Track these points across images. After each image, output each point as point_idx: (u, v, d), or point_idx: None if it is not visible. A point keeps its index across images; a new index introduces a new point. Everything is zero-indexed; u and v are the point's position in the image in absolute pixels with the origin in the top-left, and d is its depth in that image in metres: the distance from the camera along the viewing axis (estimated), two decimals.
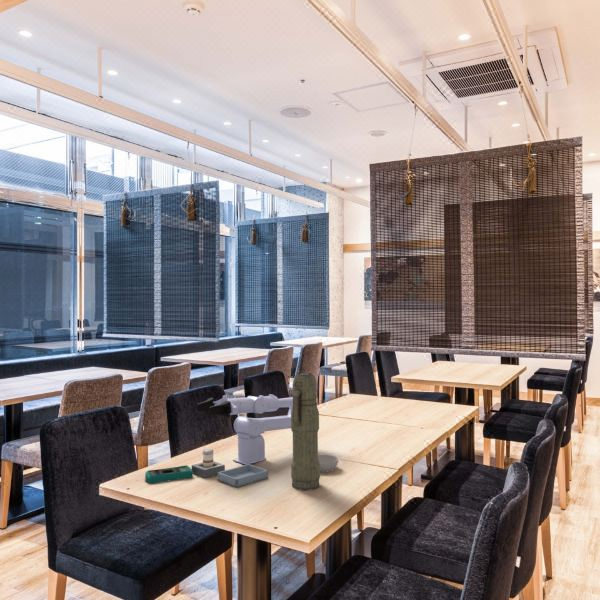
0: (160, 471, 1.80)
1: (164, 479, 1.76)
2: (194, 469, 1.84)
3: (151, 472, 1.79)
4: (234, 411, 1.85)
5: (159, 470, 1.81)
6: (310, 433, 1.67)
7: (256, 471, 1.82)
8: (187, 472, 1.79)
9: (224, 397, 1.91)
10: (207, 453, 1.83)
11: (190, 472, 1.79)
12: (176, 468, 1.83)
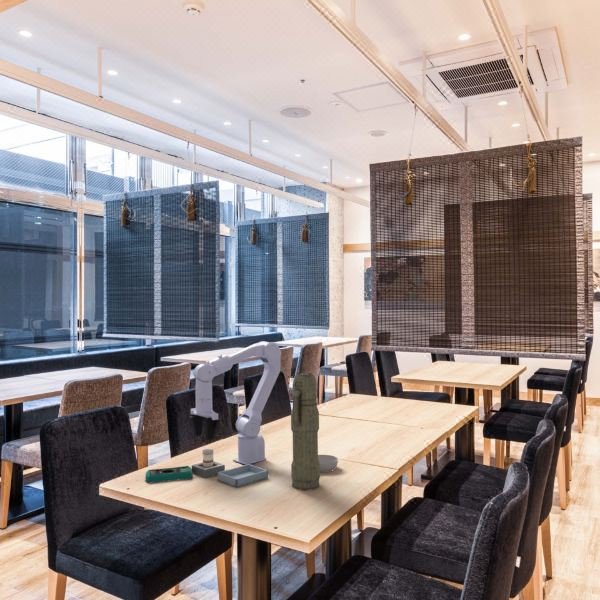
0: (160, 471, 1.80)
1: (163, 479, 1.76)
2: (194, 469, 1.84)
3: (151, 471, 1.80)
4: (216, 417, 1.86)
5: (160, 470, 1.81)
6: (310, 433, 1.67)
7: (256, 471, 1.82)
8: (186, 473, 1.78)
9: (195, 414, 1.88)
10: (207, 453, 1.83)
11: (189, 473, 1.79)
12: (177, 468, 1.83)
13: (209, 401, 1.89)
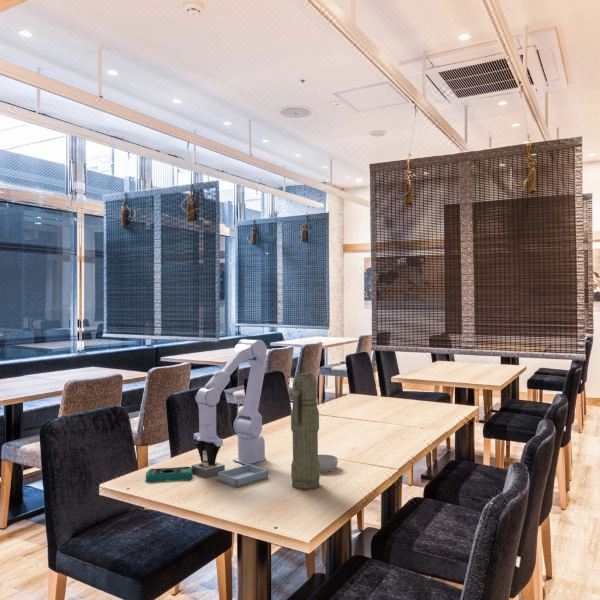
0: (161, 470, 1.81)
1: (162, 479, 1.76)
2: (194, 469, 1.84)
3: (152, 471, 1.80)
4: (221, 444, 1.80)
5: (161, 469, 1.82)
6: (310, 433, 1.67)
7: (256, 471, 1.82)
8: (185, 473, 1.78)
9: None
10: None
11: (188, 474, 1.78)
12: (178, 468, 1.82)
13: (213, 426, 1.83)
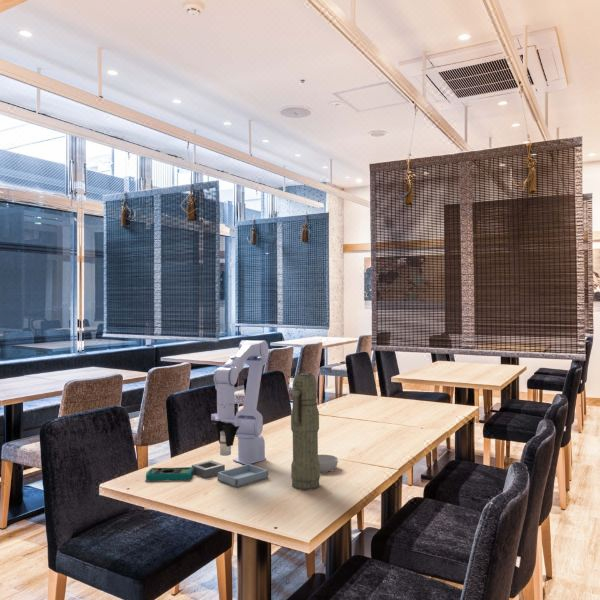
0: (162, 470, 1.81)
1: (161, 478, 1.77)
2: (194, 469, 1.84)
3: (153, 470, 1.81)
4: (239, 424, 1.76)
5: (162, 469, 1.82)
6: (310, 433, 1.67)
7: (256, 471, 1.82)
8: (184, 474, 1.77)
9: (217, 420, 1.78)
10: (224, 434, 1.79)
11: (187, 475, 1.77)
12: (179, 469, 1.82)
13: (231, 406, 1.79)
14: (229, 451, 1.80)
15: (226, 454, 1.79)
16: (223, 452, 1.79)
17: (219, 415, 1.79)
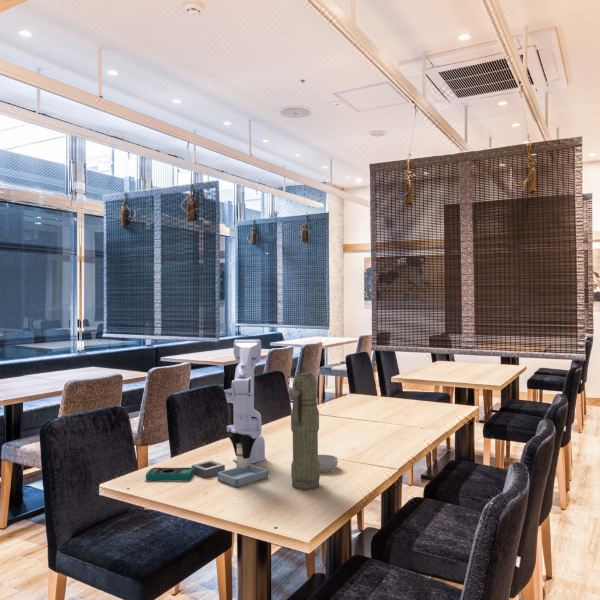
0: (162, 470, 1.81)
1: (160, 478, 1.77)
2: (194, 469, 1.84)
3: (154, 470, 1.82)
4: (257, 436, 1.73)
5: (163, 469, 1.82)
6: (310, 433, 1.67)
7: (256, 471, 1.82)
8: (183, 474, 1.77)
9: None
10: (241, 446, 1.75)
11: (186, 475, 1.76)
12: (179, 469, 1.82)
13: (248, 418, 1.76)
14: (246, 464, 1.76)
15: (243, 467, 1.76)
16: (240, 465, 1.76)
17: (236, 427, 1.75)
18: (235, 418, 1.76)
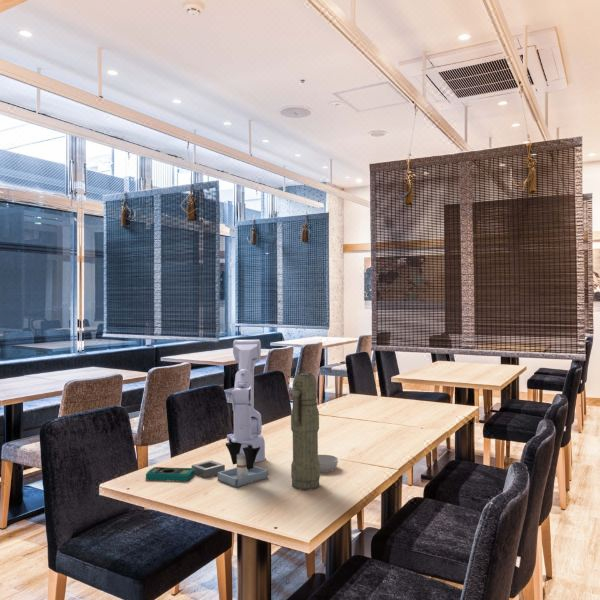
0: (163, 469, 1.82)
1: (160, 478, 1.77)
2: (194, 469, 1.84)
3: (155, 469, 1.82)
4: (257, 445, 1.73)
5: (164, 468, 1.83)
6: (310, 433, 1.67)
7: (256, 471, 1.82)
8: (182, 475, 1.76)
9: None
10: (241, 457, 1.75)
11: (184, 475, 1.76)
12: (180, 469, 1.82)
13: (248, 427, 1.76)
14: (246, 475, 1.76)
15: None
16: (240, 476, 1.75)
17: (236, 436, 1.75)
18: (235, 427, 1.76)
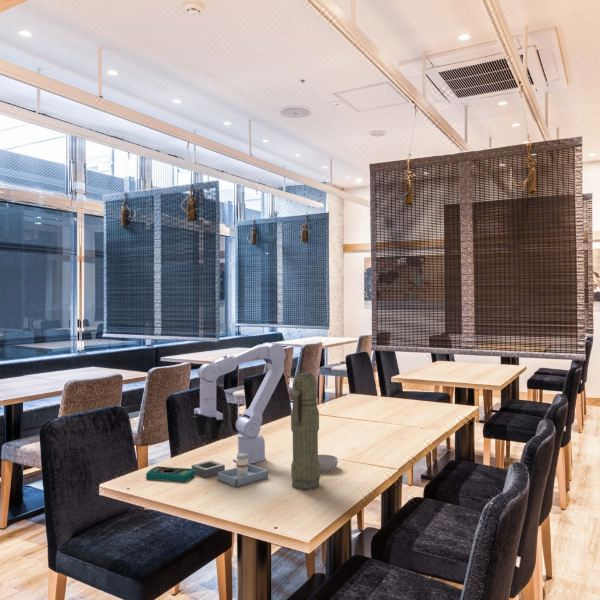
0: (164, 469, 1.82)
1: (159, 478, 1.78)
2: (194, 469, 1.84)
3: (157, 468, 1.83)
4: (221, 417, 1.86)
5: (166, 468, 1.83)
6: (310, 433, 1.67)
7: (256, 471, 1.82)
8: (180, 476, 1.75)
9: None
10: (241, 457, 1.75)
11: (182, 476, 1.75)
12: (180, 469, 1.81)
13: (213, 401, 1.90)
14: (246, 475, 1.76)
15: None
16: (240, 476, 1.76)
17: (202, 409, 1.89)
18: (201, 401, 1.89)
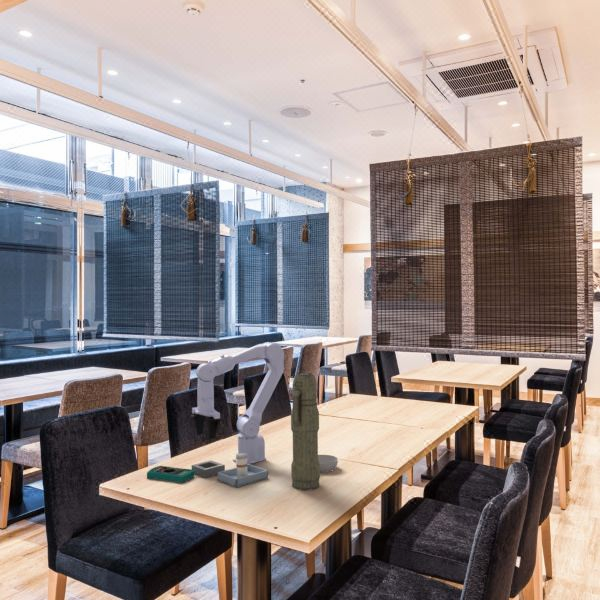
0: (165, 469, 1.82)
1: (159, 477, 1.78)
2: (194, 469, 1.84)
3: (159, 468, 1.83)
4: (218, 416, 1.88)
5: (167, 468, 1.83)
6: (310, 433, 1.67)
7: (256, 471, 1.82)
8: (178, 476, 1.75)
9: (197, 413, 1.90)
10: (240, 457, 1.76)
11: (180, 477, 1.75)
12: (180, 470, 1.81)
13: (211, 400, 1.91)
14: (246, 474, 1.76)
15: None
16: (240, 476, 1.76)
17: (199, 408, 1.90)
18: (198, 400, 1.91)
